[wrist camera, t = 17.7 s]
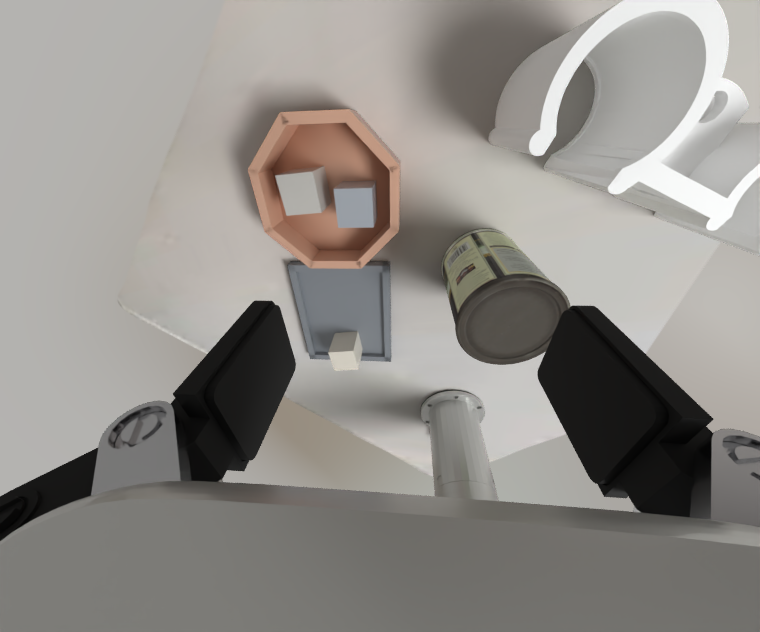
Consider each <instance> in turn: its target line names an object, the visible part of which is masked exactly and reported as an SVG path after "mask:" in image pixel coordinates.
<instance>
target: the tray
mask: <svg viewBox="0 0 760 632" xmlns="http://www.w3.org/2000/svg"><path fill="white" fill-rule="evenodd" d="M287 266H288V270H289V274H290V279H291V283H292V287H293V291H294V295H295V299H296V303H297V307H298V311H299V315H300V320H301V324H302V328H303V332H304V336H305V340H306V344H307V348H308V352H309V356H310V359H330V356H329V354H328V352H329V349H330V346H331V343H332V340H333V337H334V334H335V333H343V332H355V331H358V333H359V337H360V341H361V345H362V349H363V350H362V355H361V360H360V361H389V362H391V299H390V262H367V263H366V264H365V265H364V266H363V267H362V268H361V269H332V268H309V267H308V266H306V265H305V264H304V263H303V262H302V261H291V262H290V263H289V264H288V265H287ZM330 360H331V359H330Z"/></svg>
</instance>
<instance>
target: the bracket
mask: <svg viewBox="0 0 760 632" xmlns="http://www.w3.org/2000/svg"><path fill="white" fill-rule="evenodd" d="M728 46H729V34H728V25H727V21H726V17H725V14H724V12H723V10H722V8H721V6H720V4H719V3H718V2H717V0H623V1H621V2H620V3H618V4H616V5H614V6H613V7H611V8H609V9H607V10H606V11H604V12H602V13H600V14H599V15H597V16H595V17H594V18H592V19H590V20H588V21H587V22H585V23H583V24H581V25H580V26H578V27H576V28H574V29H573V30H571V31H569V32H567V33H566V34H564V35H562V36H560V37H559V38H557V39H555V40H553V41H552V42H550V43H548V44H546V45H545V46H543V47H541V48H539V49H538V50H536V51H535V52H534V53H532V54H531V55H530V56H528V57H527V58H526V59H525V60H524V61H523V62H522V63H521V64H520V65H519V66H518V68H517V69H516V70H515V71H514V73H513V74H512V75H511V77H510V79H509V80H508V82H507V84H506V85H505V87H504V89H503V92H502V94H501V96H500V99H499V102H498V106H497V110H496V116H495V128H494V129H493V130H492V131H491V132H490V134H489V138H488V139H489V143H490V144H491V145H494V146H498V147H502V148H506V149H510V150H514V151H518V152H522V153H526V154H530V155H535V156H541V155H544V153H545V151H546V150H547V148H548V147H549V145H550V144H551V142H552V141H553V139H554V137H555V136H556V124H557V115H558V110H559V106H560V103H561V100H562V97H563V94H564V92H565V89H566V87H567V85H568V83H569V81H570V79H571V78H572V76H573V74H574V72H575V71H576V69H577V68H578V66H579V65H580V64H581V62H582V61H584V62H585V63H586V64H587V65H588V67H589V68H590V70H591V72H592V75H593V78H594V83H595V95H594V101H593V105H592V109H591V112H590V114H589V116H588V119H587V121H586V122H585V124H584V126H583V127H582V129H581V130H580V132H579V133H578V134H577V135H576V136H575V137H574V139H573V140H572V141H571V142H569V143H568V144H567V145H566V146H565V147H563V148H562V149H560V150H558V151H557V152H555V153H553V154H551V156H550V157H549V159H548V160H547V162H546V163H545V165H544V166H543V168H544V170H545V171H546V172H549V173H552V174H555V175H558V176H561V177H564V178H567V179H570V180H573V181H575V182H578V183H581V184H584V185H587V186H590V187H593V188H596V189H599V190H602V191H605V192H608V193H611V194H613V196H614V197H616V198H619V199H621V200H624V201H627V202H630V203H633V204H636V205H639V206H641V207H644V208H647V209H650V210H653V211H656V213H655V214H654V216H655V217H656V218H659V219H661V220H664V221H667V222H669V223H672V224H675V225H677V226H680V227H683V228H685V229H688V230H691V231H693V232H696V233H699V234H701V235H704V236H707V237H709V238H712V239H715V240H717V241H720V242H723V243H726V244H728V245H731V246H733V247H736V248H739V249H742V250H744V251H747V252H750V253H753V254H755V255H757V256H760V123H737V122H738V121H739V120H740V119H741V117H742V116H743V115H744V114H745V112H746V111H747V110H748V109H749V105H748V101H747V98H746V96H745V94H744V92H743V91H742V90H741V88H740V87H739V86H738V85H736V84H735V83H734V82H732V81H730V80H728V79H725V78H722V75H723V72H724V69H725V64H726V60H727V54H728ZM714 96H715V97H714Z"/></svg>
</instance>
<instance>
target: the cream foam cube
mask: <svg viewBox="0 0 760 632" xmlns="http://www.w3.org/2000/svg"><path fill="white" fill-rule="evenodd" d="M362 350H363V349H362V345H361V341H360V337H359V333H358V331H355V332H343V333H335V334H334V337H333V340H332V343H331V346H330V349H329V352H328V354H329V356H330V359H331V362H332V365H333V368H334V370H335V371H342V370H359V366H360V360H361V355H362Z"/></svg>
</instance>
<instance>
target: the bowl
mask: <svg viewBox="0 0 760 632" xmlns="http://www.w3.org/2000/svg"><path fill="white" fill-rule="evenodd" d="M318 166H325V171H326V177H327V182H328V187H329V192H330V197H331V204H330V205H329V206H328V207H327V208H326V209H325V210H324V211H323V212H322V213H312V214H301V215H290V216H287V215H286V212H285V208H284V205H283V201H282V198H281V194H280V191H279V187H278V184H277V181H276V177H275V175H278V174H281V173H283V172H286V171H289V170H291V169H300V168H309V167H318ZM248 173H249V176H250V180H251V184H252V187H253V191H254V195H255V198H256V202H257V205H258V209H259V213H260V216H261V220H262V224H263V227H264V231H265V233H267V234H268V235H269V236H270V237H272V238H273V239H274V240H275V241H277V242H278V243H279V244H280V245H282V246H283V247H284V248H285V249H287V250H288V251H289V252H290V253H292V254H293V255H294V256H295V257H297V258H298V259H299V260H300V261H302V262H303V263H304V264H305V265H306V266H308V267H309V268H332V269H361V268H362V267H363V266H364V265H365V264H366V263H367V262H369V261H370V260H371V259H372V258H373V257H374V256H375V255H376V254H377V253H378V252H379V251H380V250H381V249H382V248H383V247H384V246H385V245H386V244H387V243H388V242H389V241H390V240H391V239H392V238H393V237H394V236H395V235H396V234H397V233H398V232H399V224H400V160H399V159H398V158H397V157H396V155H395V154H394V153H393V152H392V151H391V150H390V149H389V148H388V146H387V145H386V144H385V143H384V142H383V141H382V140H381V138H380V137H379V136H378V135H377V134H376V133H375V132H374V131H373V129H372V128H371V127H370V126H369V125H368V124H367V123H366V122H365V120H364V119H363V118H362V117H361V116H360V115H359V114H358V113H357V111H354V110H350V109H340V110H317V111H294V112H280V113H279V115H278V116H277V118H276V120H275V122H274V123H273V125H272V127H271V129H270V131H269V132H268V134H267V136H266V138H265V139H264V141H263V143H262V145H261V147H260V148H259V150H258V152H257V154H256V156H255V157H254V159H253V161H252V163H251V164H250V166H249V168H248ZM371 180H376V188H377V214H378V216H377V219H376V222H375V225H374V227H372V228H338V222H337V214H336V206H335V197H334V188H335V187H336V186H337V185H339V184H340V183H341V182H342V181H371Z"/></svg>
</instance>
